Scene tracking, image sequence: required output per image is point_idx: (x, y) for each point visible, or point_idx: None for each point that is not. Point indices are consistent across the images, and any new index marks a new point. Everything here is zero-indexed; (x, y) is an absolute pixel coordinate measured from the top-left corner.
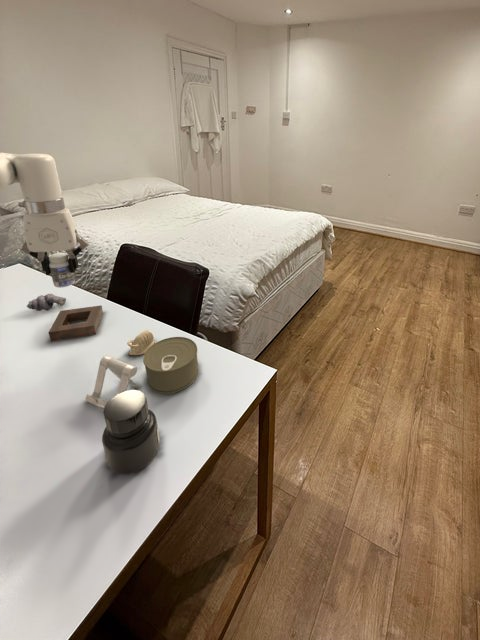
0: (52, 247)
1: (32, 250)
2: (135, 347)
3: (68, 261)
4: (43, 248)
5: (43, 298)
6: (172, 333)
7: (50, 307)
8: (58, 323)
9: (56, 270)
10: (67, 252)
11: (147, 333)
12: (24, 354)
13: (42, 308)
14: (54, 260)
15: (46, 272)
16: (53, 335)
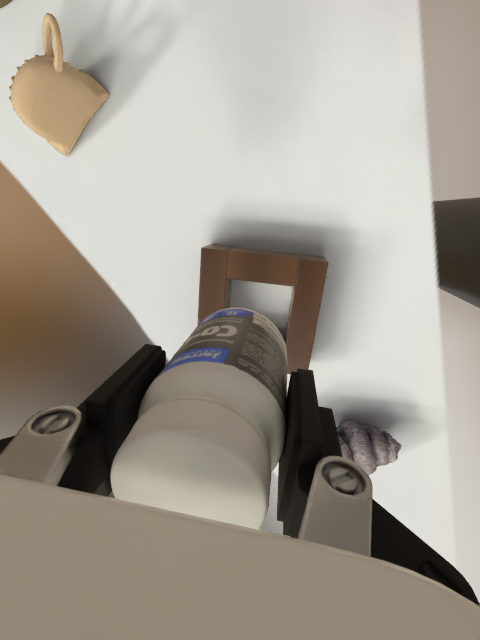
0: (84, 574)
1: (476, 623)
2: (63, 61)
3: (118, 397)
4: (258, 605)
5: (357, 453)
6: (6, 162)
7: (339, 426)
8: (304, 303)
9: (231, 355)
10: (46, 472)
11: (11, 87)
12: (387, 217)
13: (358, 424)
14: (212, 420)
15: (306, 377)
16: (315, 258)
